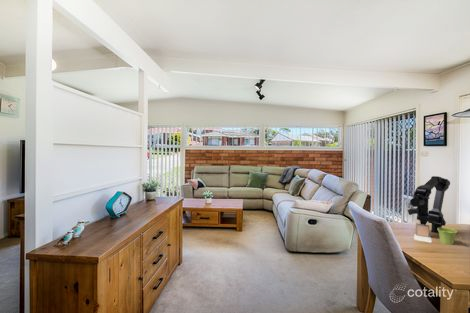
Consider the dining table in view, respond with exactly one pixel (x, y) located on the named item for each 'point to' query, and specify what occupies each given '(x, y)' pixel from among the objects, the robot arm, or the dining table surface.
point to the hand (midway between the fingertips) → (422, 228)
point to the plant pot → (446, 235)
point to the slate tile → (422, 230)
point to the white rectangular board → (422, 238)
